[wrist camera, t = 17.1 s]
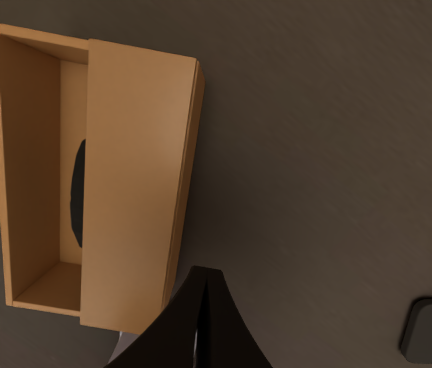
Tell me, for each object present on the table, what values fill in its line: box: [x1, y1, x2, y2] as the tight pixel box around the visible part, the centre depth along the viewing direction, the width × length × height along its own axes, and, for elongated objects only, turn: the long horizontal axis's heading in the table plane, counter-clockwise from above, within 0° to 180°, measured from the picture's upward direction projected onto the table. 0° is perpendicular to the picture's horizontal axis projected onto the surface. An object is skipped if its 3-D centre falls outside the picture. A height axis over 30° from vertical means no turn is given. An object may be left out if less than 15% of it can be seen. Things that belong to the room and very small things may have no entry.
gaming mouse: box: [70, 139, 86, 248], centre depth 17 cm, size 6×15×4 cm, turn 0°
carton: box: [0, 23, 205, 317], centre depth 17 cm, size 18×12×6 cm, turn 170°
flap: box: [80, 38, 197, 335], centre depth 14 cm, size 18×6×1 cm, turn 170°
